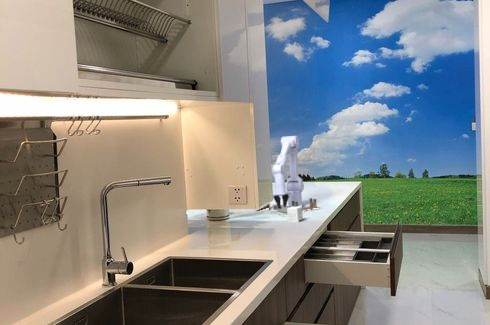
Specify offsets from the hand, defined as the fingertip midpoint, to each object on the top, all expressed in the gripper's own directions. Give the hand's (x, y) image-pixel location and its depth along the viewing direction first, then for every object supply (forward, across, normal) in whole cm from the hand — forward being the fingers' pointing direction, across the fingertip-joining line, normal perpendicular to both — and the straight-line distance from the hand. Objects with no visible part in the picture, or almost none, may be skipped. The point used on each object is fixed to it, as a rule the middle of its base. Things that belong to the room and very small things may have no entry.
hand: (282, 208), depth 294 cm
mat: (+3, 0, 0) cm, 3 cm away
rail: (+2, 0, +1) cm, 2 cm away
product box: (+3, -6, -28) cm, 29 cm away
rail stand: (+3, +14, -1) cm, 14 cm away
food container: (+3, -5, +20) cm, 21 cm away
